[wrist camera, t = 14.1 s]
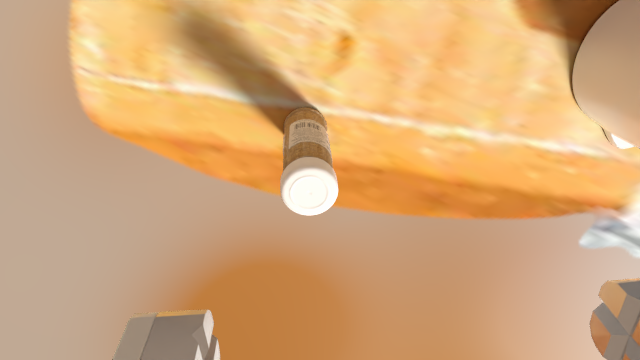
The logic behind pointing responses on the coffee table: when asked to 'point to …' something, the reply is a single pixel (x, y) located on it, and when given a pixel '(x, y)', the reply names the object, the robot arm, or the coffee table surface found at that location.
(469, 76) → the coffee table surface
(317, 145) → the sprinkles bottle
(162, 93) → the coffee table surface
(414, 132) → the coffee table surface
